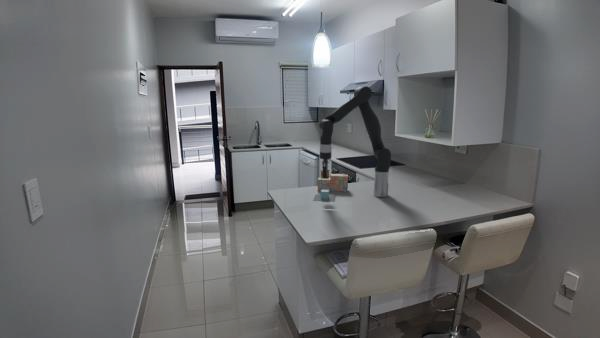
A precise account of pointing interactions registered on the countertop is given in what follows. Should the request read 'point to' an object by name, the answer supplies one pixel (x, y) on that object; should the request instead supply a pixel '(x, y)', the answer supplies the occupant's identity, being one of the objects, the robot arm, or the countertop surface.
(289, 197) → the countertop surface
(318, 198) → the build mat
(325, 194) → the teal cube
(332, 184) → the stack of blocks
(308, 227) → the countertop surface
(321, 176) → the walnut cube
